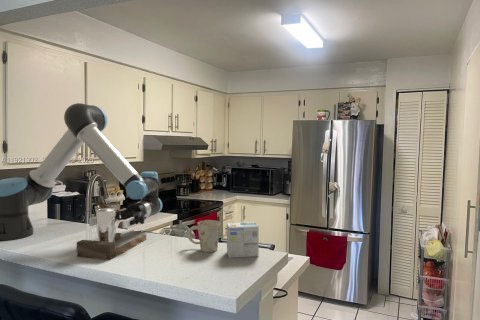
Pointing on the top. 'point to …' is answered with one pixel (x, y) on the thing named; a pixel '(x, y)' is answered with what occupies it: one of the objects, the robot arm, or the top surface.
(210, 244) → the mug
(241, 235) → the light bulb box
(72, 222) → the top surface
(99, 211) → the metal tumbler
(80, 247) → the brown u-shaped block
